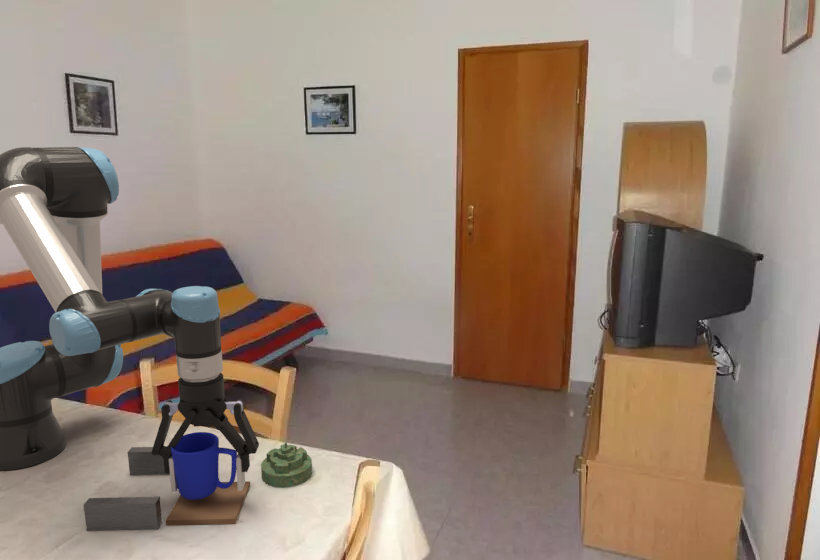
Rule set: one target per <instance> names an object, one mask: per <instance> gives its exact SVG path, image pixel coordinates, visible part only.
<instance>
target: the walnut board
mask: <svg viewBox="0 0 820 560" xmlns="http://www.w3.org/2000/svg"><path fill="white" fill-rule="evenodd" d="M221 482H222V483H228V482H229V481H221ZM250 487H251V481H248V480H247V481H246V480H245V485H244V487H243V490H242V491H238V486H237V481H234V482H233V484H232V485H231V486H230V487H229V488H225V489H223V488H219V487H217V488H216V490H215V491H214V492H213V493H212V494H211V495H209V496H208V497H205V498H202V499H197V500H190V499H186V498H184V497H182V496H181V495H178V496H179V497H178V498H177V500H176V501H175V503H174V505H173V507H172V509H171V510H170V512H169V514H168V515H167V517H166V519H165V526H197V525H199V526H201V525H204V526H206V525H237V524H236V523H237V521H238V519H239V516H240V513H241V511H242V508H243V506H244V503H245V501H246V498H247V495H248V493H249V490H250Z"/></svg>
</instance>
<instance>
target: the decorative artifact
mask: <svg viewBox="0 0 820 560" xmlns="http://www.w3.org/2000/svg"><path fill="white" fill-rule="evenodd" d="M312 462H313V461H312V457H311V456H310V455H309V454H308V452H307V450H306V449H305V448H303V447H301V446H300V447H297V445H293V444H288V443H287V441H286V442H284V444H282V445H280V448H275V447H274V448H273V449H270V450H269V451H268V452H267V453H266V457H265V459H263V460H262V462H261V463H260V471H261V472H260V473H261V480H262V482H265V483H264V484H266V485H267V484H268V486H270V487H273V488H282V489H284V488H291V487H296V486H298V485H301V484H303V483H305V482H306V481H308V480H309V479H310V478H311V476H312V475H313V463H312Z"/></svg>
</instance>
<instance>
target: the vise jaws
mask: <svg viewBox="0 0 820 560" xmlns="http://www.w3.org/2000/svg"><path fill="white" fill-rule="evenodd" d="M152 449H153V446H137V447H136V446H132V447H130V449H129V450H127V459H128V461H127V462H128V467H129V468H128V469H129V470H128V471H129V475H130V476H134V475H135V476H139V475H141V476H144V475H147V476H148V475H170V473H168V474H166V473H165V470H164V459H163V457H162V456H160V455H156V456H155V455H153V454H152ZM83 511H84V519H85V527H86V532H92V531H94V532H98V531H100V532H101V531H103V532H104V531H138V530H141V531H142V530H159V528H160V526H161V525H162V523H163V520H162V519H163V518H162V506H161V498H160V496H131V497H129V496H127V497H126V496H125V497H124V496H123V497H119V496H118V497H89V498H88V499H87V500H86V501H85V502H84V504H83Z"/></svg>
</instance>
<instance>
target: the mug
mask: <svg viewBox="0 0 820 560" xmlns="http://www.w3.org/2000/svg"><path fill="white" fill-rule="evenodd" d="M219 439H220V438H219V436H218V435H216V434H215V433H212V432H207V431H195V432H191V433H187V434H186V433H185V434H184V435H183V436H182V438H181V439H180V441H179V442H178V444H177V445H176V447H175V448H173V447H171V452H172V458H173V463H174V469H175V475H176V480H177V486H178V489H177V491H178V493H179V494H180V495H181V496H182V497H184V498H186V499H190V500H197V499H202V498H205V497H208V496H209V495H211V494H212V493H213V492H214V491H215V490H216V488H217V487H219V488H223V489H225V488H229V487H230V486H231V485H232V484H233V482H235V480H236V477H237V470H236V458H237V455H238V452H237V451H236V450H235V449H234V448H227V447H219V445H220V440H219ZM220 454H221V455H222V454H223V455H228V456H230V457H231V471H230V476H229V477H230V479H229V480H228V481H227V482H228V483H222V482H223V481H221V480H220V478H219V459H220V457H219V455H220ZM180 495H179V496H180Z"/></svg>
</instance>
